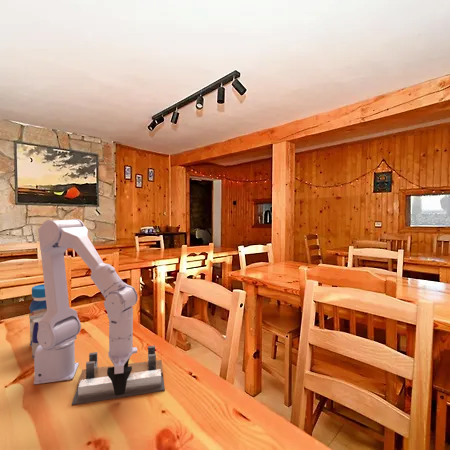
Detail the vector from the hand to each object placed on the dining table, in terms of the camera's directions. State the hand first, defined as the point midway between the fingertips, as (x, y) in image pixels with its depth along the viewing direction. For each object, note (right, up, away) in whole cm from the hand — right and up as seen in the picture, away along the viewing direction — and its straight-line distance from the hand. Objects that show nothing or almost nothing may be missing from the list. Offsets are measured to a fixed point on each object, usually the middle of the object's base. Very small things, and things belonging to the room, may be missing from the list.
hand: (120, 384), depth 74 cm
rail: (0, -1, 0) cm, 1 cm away
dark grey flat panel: (0, -2, 0) cm, 2 cm away
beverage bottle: (-35, +1, +24) cm, 43 cm away
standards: (-2, -1, +7) cm, 7 cm away
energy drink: (-31, 0, +16) cm, 35 cm away
